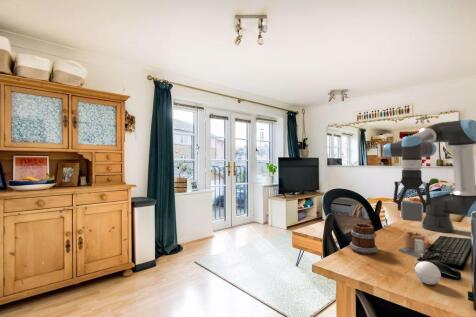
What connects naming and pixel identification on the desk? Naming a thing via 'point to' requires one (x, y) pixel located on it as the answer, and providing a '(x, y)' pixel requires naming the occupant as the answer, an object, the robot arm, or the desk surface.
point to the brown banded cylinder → (363, 238)
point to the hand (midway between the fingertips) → (411, 218)
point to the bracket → (410, 239)
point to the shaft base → (412, 252)
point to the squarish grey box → (412, 210)
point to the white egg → (427, 272)
